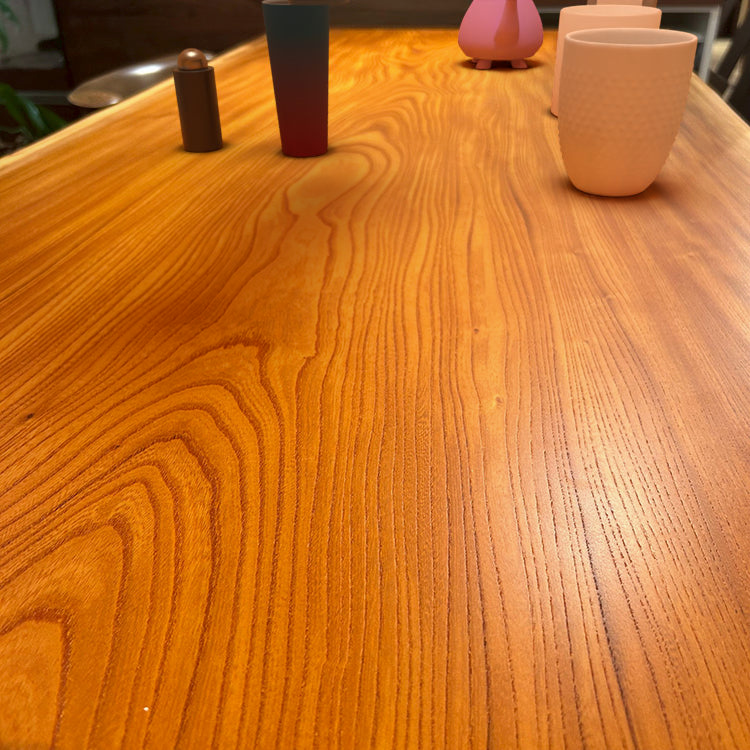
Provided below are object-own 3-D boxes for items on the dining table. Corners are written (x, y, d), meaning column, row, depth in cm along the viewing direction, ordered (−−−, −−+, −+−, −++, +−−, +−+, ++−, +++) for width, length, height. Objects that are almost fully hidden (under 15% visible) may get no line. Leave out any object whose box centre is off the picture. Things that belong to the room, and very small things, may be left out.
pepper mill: (177, 151, 86) (162, 51, 81) (193, 141, 90) (180, 45, 85) (214, 152, 85) (201, 52, 80) (228, 142, 89) (217, 45, 84)
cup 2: (532, 109, 101) (540, 8, 95) (601, 100, 105) (613, 2, 99) (592, 128, 92) (606, 17, 86) (665, 116, 96) (683, 10, 90)
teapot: (553, 74, 122) (561, -14, 116) (463, 76, 122) (466, -12, 116) (531, 54, 139) (537, -23, 133) (452, 56, 139) (455, -22, 133)
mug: (540, 158, 81) (553, 22, 74) (648, 159, 80) (671, 21, 73) (555, 204, 68) (572, 45, 62) (684, 206, 67) (715, 44, 61)
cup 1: (297, 163, 81) (286, 5, 74) (262, 150, 86) (248, 1, 78) (348, 151, 85) (343, 0, 77) (312, 139, 90) (304, -4, 82)
